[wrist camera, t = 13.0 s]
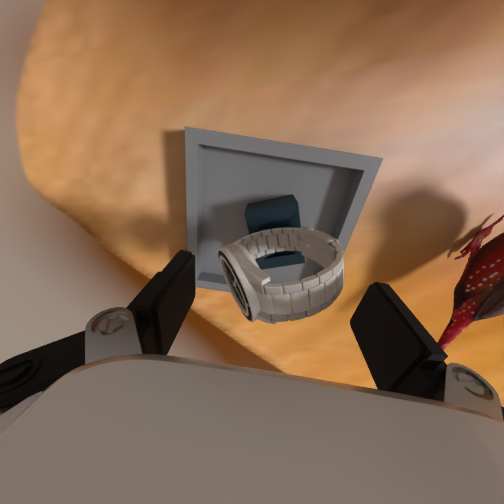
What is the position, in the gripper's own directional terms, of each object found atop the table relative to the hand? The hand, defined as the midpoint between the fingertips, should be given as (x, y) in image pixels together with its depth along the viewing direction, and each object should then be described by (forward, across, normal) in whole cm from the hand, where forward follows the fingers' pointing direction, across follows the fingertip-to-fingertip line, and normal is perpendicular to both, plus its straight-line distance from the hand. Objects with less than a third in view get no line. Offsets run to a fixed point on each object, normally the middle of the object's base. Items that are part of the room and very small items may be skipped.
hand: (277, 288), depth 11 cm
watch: (+10, 0, 0) cm, 10 cm away
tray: (+11, +1, +1) cm, 11 cm away
